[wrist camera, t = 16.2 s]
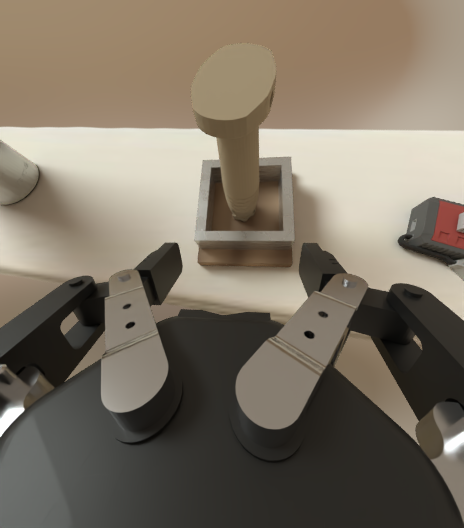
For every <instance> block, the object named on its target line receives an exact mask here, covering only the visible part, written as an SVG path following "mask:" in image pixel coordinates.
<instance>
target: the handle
mask: <svg viewBox="0 0 464 528" xmlns="http://www.w3.org/2000/svg"><path fill="white" fill-rule="evenodd" d="M275 82H276V65H275V61H274V58H273V54H272V52H271V51H270V50H269V49H267V48H265V47H263V46H260V45H256V44H248V43H239V44H231V45H227V46H224V47H221V48H220V49H219V50H218V51H216V52H215V53H214V54H213V55H212V56H210V57H209V58H208V59H207V60H206V61H205V62H204V63H203V64H202V65H201V67H200V69H199V70H198V72H197V75H196V77H195V78H194V81H193V83H192V86H191V101H192V109H193V112H194V115H195V119H196V122H197V125H198V127H199V128H200V129H201V130H202V131H203V132H204V133H206V134H208V135H210V136H213V137H216V138H217V145H218V152H219V159H220V167H221V175H222V183H223V189H224V193H225V197H226V200H227V203H228V206H229V208H230V210H231V212H232V213H233V214H232V215H233V217H234V219H235V220H242V221H243V222H246V221H247V220H248V219H249V218H250V217H251V216H254V214H255V211H256V204H257V200H258V193H259V125H260V124H261V123H262V122H263V121H264V120H265V119H266V117H267V116H268V114H269V112H270V108H271V104H272V101H273V97H274V92H275Z"/></svg>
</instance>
